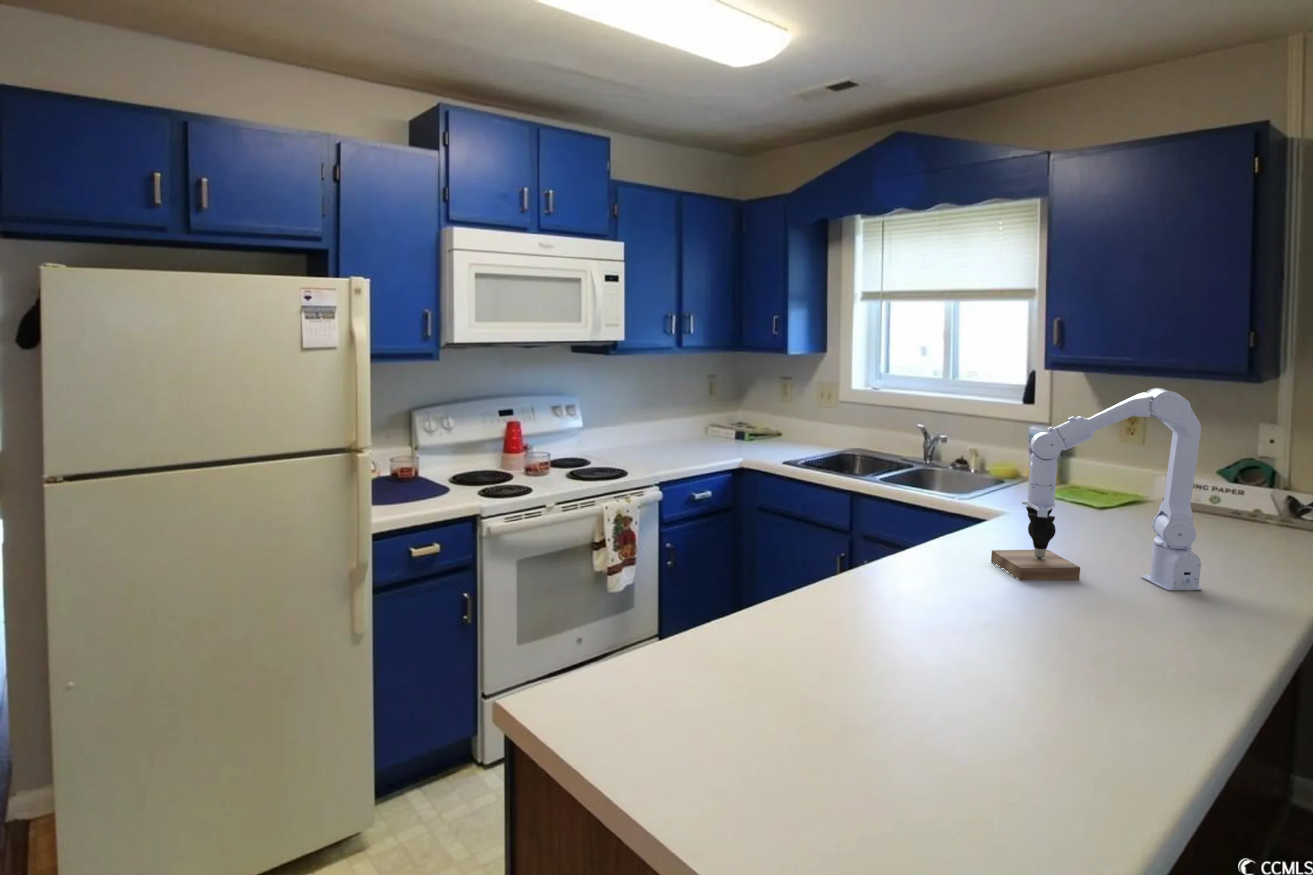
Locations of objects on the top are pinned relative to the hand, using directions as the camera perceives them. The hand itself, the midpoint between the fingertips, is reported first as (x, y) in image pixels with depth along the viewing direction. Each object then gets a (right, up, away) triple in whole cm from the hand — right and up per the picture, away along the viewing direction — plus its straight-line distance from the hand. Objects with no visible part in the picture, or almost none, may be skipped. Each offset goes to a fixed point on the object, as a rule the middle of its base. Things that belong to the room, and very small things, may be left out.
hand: (1037, 540), depth 188 cm
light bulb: (+1, -5, +1) cm, 5 cm away
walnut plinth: (0, -7, +1) cm, 7 cm away
